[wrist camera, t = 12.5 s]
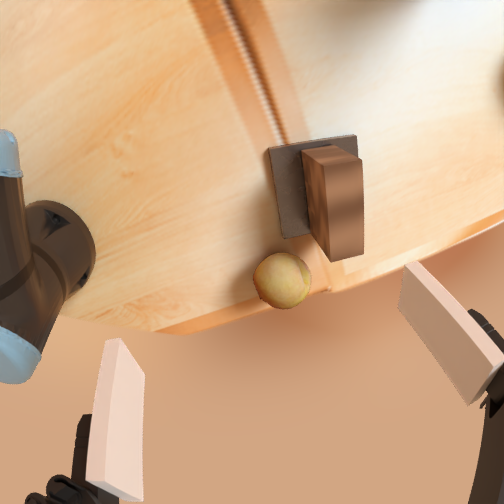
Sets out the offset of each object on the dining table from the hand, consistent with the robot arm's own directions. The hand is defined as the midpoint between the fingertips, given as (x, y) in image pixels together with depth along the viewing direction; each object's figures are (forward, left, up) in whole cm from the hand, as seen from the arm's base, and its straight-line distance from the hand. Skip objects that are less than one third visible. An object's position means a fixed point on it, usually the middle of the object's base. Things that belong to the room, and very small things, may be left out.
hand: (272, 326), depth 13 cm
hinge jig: (+12, -6, -29) cm, 32 cm away
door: (+12, -6, -28) cm, 31 cm away
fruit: (+4, -17, -29) cm, 34 cm away
